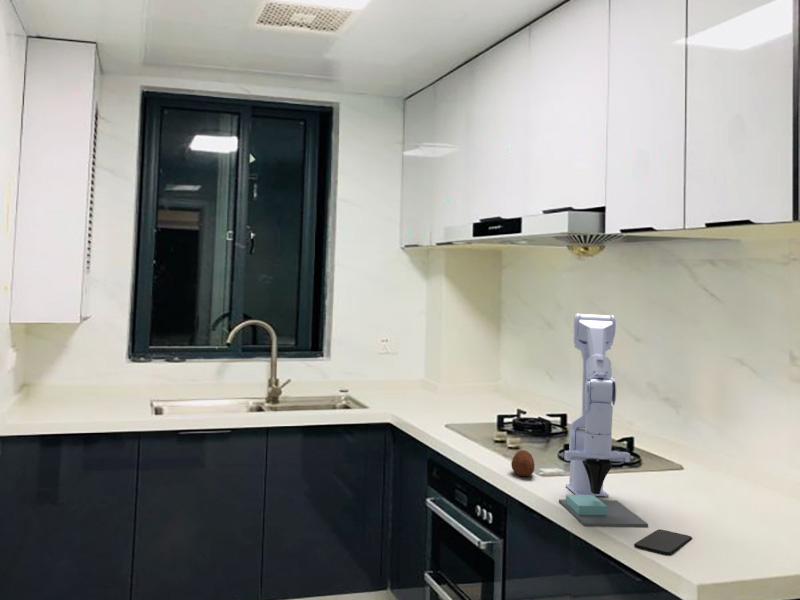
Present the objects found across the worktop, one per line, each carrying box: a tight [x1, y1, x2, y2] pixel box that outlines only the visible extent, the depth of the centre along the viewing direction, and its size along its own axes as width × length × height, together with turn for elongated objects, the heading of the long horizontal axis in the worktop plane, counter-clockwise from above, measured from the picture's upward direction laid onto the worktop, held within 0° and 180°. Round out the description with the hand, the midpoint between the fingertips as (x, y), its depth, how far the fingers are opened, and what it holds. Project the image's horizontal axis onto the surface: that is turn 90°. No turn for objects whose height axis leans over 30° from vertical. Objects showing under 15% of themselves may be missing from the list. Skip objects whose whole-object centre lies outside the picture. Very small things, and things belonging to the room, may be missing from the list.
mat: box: [558, 499, 649, 528], centre depth 176 cm, size 18×14×1 cm
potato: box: [510, 449, 535, 477], centre depth 209 cm, size 6×12×6 cm, turn 7°
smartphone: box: [633, 528, 693, 556], centre depth 157 cm, size 7×1×15 cm
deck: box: [565, 494, 607, 515], centre depth 176 cm, size 9×2×6 cm
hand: (595, 492), depth 176 cm, fingers closed
